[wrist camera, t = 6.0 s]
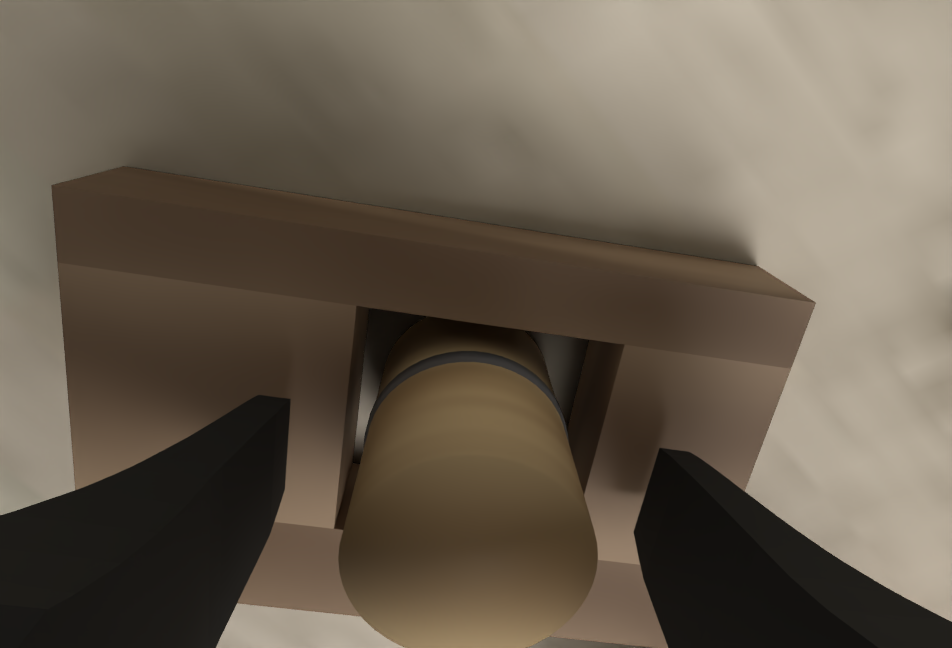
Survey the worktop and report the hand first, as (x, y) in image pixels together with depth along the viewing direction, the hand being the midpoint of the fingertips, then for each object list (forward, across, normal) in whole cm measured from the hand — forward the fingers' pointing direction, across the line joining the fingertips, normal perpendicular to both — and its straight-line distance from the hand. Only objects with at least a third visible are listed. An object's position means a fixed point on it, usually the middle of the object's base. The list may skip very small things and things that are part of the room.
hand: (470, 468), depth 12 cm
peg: (+3, 0, 0) cm, 3 cm away
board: (+3, +1, 0) cm, 3 cm away
